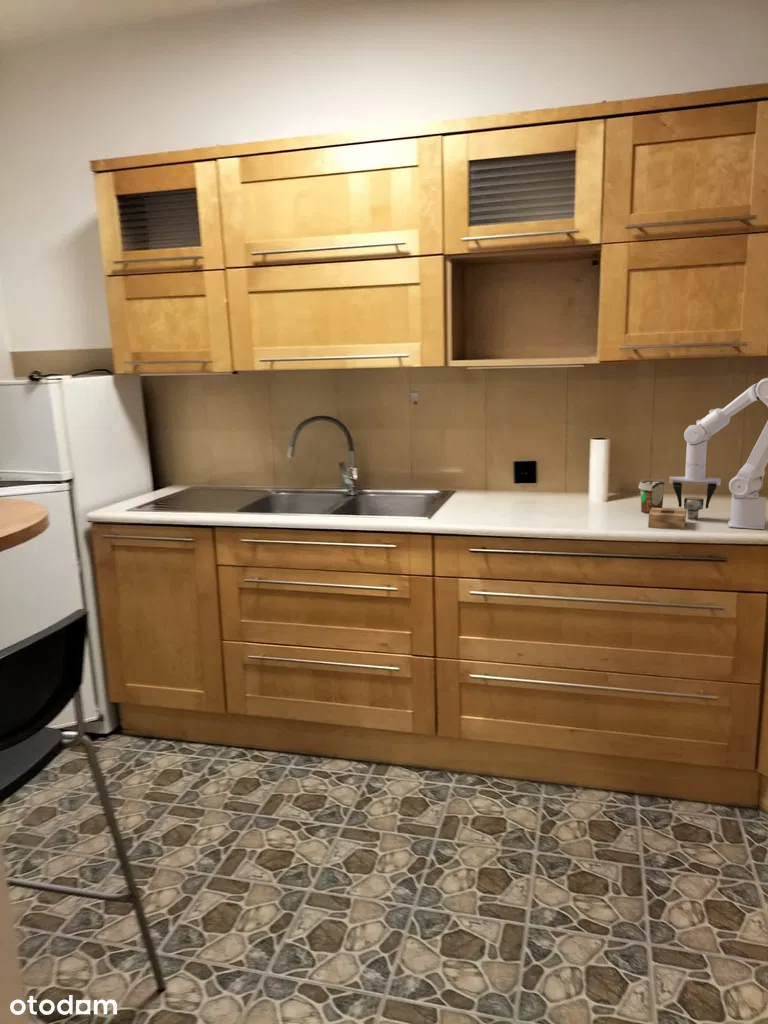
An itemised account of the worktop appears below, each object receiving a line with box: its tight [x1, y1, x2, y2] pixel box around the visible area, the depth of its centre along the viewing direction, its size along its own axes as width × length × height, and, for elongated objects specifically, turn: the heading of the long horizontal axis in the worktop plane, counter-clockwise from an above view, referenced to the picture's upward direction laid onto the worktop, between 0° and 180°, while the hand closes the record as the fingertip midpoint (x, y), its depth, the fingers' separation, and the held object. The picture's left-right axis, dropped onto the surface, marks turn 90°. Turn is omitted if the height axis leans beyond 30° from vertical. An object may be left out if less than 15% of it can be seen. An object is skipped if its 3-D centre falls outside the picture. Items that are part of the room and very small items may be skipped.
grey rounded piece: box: [683, 496, 705, 521], centre depth 231 cm, size 6×6×6 cm
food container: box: [638, 478, 666, 515], centre depth 244 cm, size 12×6×10 cm, turn 141°
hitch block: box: [647, 507, 687, 530], centre depth 225 cm, size 10×10×4 cm
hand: (693, 507), depth 230 cm, fingers open, 7 cm apart
